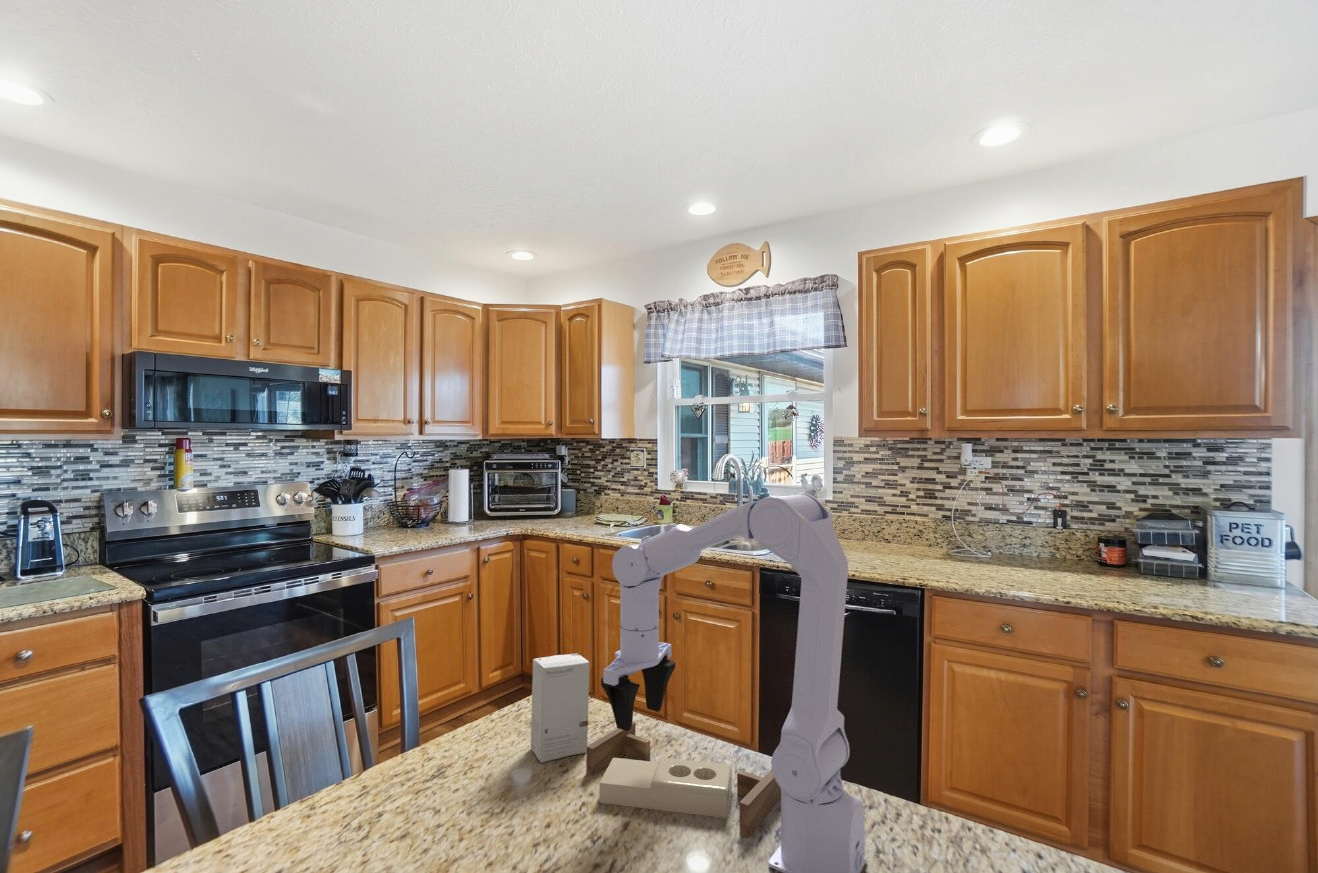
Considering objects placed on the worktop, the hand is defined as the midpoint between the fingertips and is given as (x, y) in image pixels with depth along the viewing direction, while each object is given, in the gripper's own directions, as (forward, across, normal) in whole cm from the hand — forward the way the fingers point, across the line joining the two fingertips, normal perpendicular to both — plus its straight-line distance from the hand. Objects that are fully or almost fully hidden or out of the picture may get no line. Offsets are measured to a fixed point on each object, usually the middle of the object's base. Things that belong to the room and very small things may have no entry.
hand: (639, 719), depth 90 cm
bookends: (+10, -4, +5) cm, 12 cm away
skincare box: (+10, -2, -17) cm, 20 cm away
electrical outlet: (+11, 0, +4) cm, 12 cm away
